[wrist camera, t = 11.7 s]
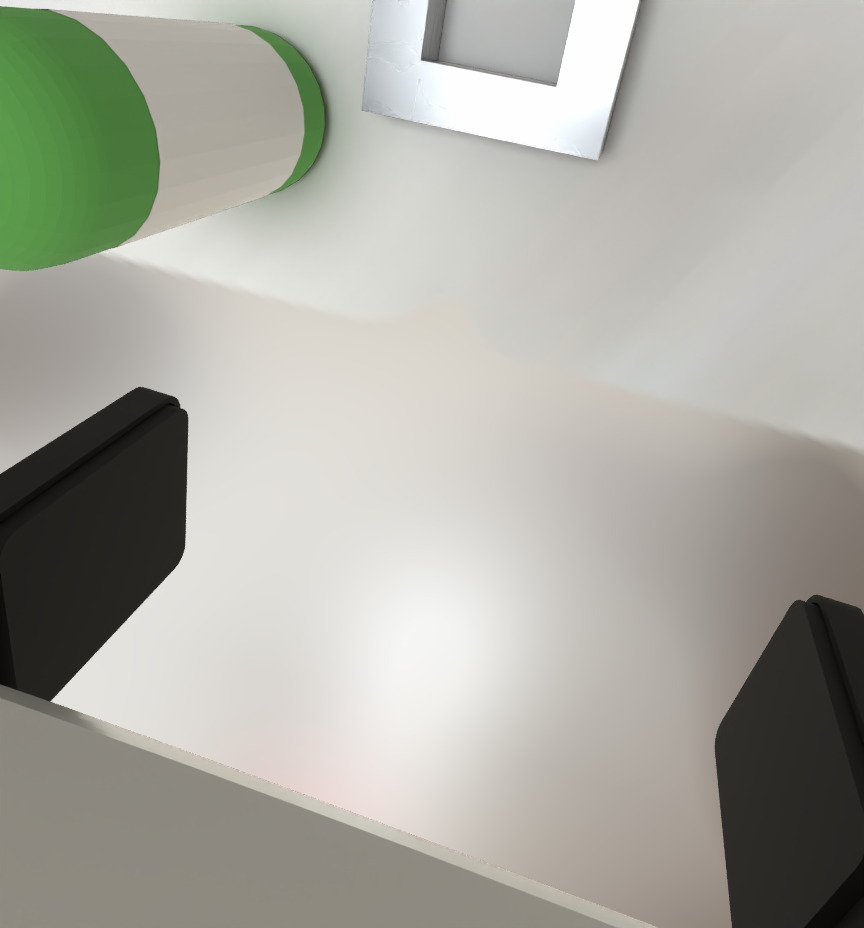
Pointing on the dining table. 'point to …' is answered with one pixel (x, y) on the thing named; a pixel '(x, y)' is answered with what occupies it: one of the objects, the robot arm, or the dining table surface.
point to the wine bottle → (140, 127)
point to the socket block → (500, 78)
